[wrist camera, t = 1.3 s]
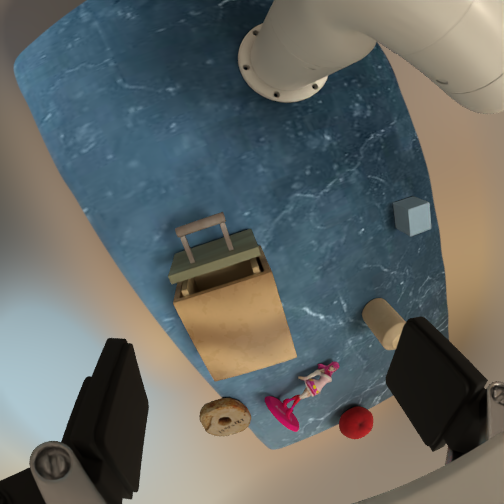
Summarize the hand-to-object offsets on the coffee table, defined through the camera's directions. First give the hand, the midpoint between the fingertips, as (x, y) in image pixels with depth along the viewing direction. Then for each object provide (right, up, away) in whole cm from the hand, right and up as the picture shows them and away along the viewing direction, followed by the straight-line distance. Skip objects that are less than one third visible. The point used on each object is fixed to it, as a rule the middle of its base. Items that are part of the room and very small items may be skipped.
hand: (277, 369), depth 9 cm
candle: (+22, -7, +42) cm, 48 cm away
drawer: (-5, +1, +34) cm, 35 cm away
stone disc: (-4, -35, +47) cm, 59 cm away
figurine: (+5, -28, +43) cm, 51 cm away
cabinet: (-3, -4, +37) cm, 38 cm away
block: (+25, +10, +36) cm, 44 cm away
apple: (+23, -34, +46) cm, 62 cm away
